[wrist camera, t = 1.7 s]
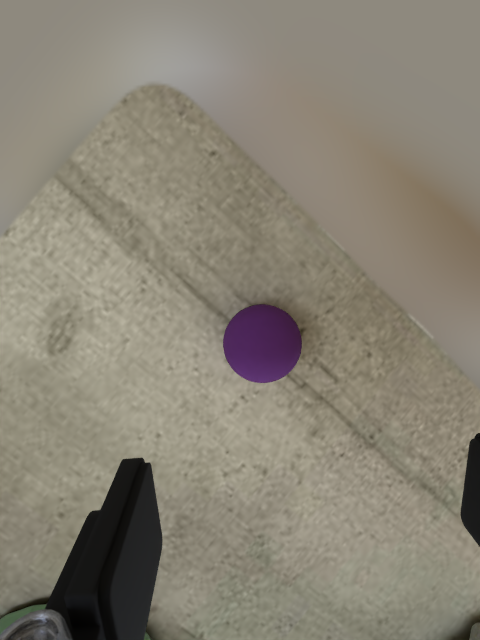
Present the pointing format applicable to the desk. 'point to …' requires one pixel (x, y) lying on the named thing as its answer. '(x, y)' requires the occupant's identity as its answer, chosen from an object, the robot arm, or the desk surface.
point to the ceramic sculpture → (475, 632)
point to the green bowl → (12, 617)
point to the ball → (262, 343)
